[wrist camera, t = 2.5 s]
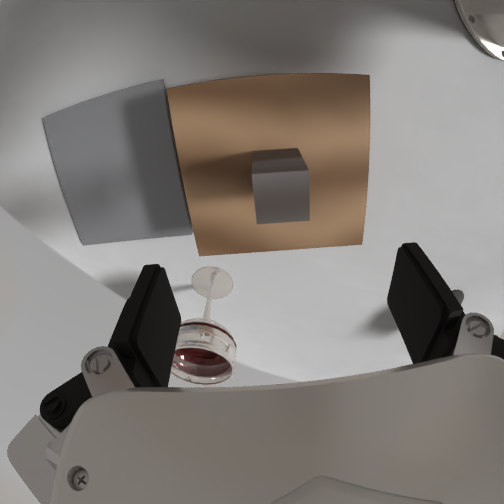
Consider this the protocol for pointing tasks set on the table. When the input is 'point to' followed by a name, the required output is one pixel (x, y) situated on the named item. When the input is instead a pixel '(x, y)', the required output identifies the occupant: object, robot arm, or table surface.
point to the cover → (274, 160)
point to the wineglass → (205, 336)
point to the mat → (120, 166)
